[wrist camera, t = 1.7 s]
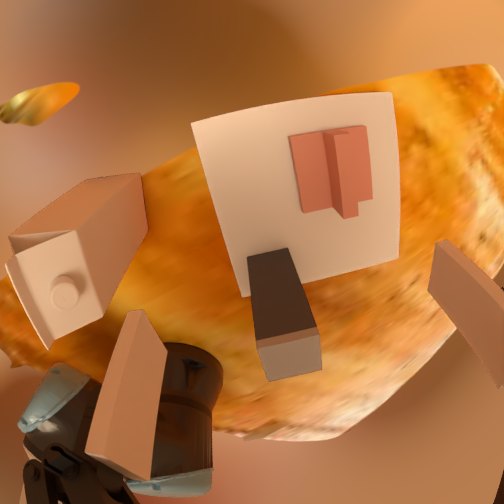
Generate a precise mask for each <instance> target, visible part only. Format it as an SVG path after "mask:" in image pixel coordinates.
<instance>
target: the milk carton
mask: <svg viewBox="0 0 504 504" xmlns="http://www.w3.org/2000/svg"><path fill="white" fill-rule="evenodd" d="M147 232H148V224H147V218H146V211H145V204H144V197H143V189H142V181H141V174H140V173H132V174H124V175H115V176H107V177H100V178H93V179H87V180H85V181H83V182H81V183H80V184H79V185H77V186H75V187H74V188H72V189H71V190H69V191H68V192H66V193H65V194H63V195H62V196H60V197H59V198H58V199H56V200H55V201H53V202H52V203H50V204H49V205H48V206H46V207H45V208H43V209H42V210H41V211H40V212H38V213H37V214H35V215H34V216H33V217H32V218H30V219H29V220H28V221H26V222H25V223H24V224H23V225H21V226H20V227H19V228H18V229H16V230H15V231H14V232H13V233H12V234H11V235H9V236H8V239H9V242H10V246H11V249H12V252H13V256H12V257H11V258H10V259H9V260H8V261H7V262H6V263H5V268H6V270H7V272H8V275H9V277H10V280H11V282H12V284H13V287H14V289H15V291H16V293H17V295H18V298H19V300H20V302H21V304H22V306H23V308H24V310H25V312H26V314H27V316H28V318H29V320H30V321H31V323H32V325H33V327H34V329H35V330H36V332H37V334H38V336H39V337H40V339H41V341H42V343H43V344H44V346H45V347H46V349H47V350H49V349H50V347H51V345H52V344H53V342H54V340H56V339H58V338H60V337H62V336H64V335H66V334H68V333H71V332H73V331H75V330H77V329H79V328H81V327H83V326H85V325H87V324H89V323H91V322H94V321H96V320H98V319H100V318H102V317H103V315H104V314H105V312H106V310H107V307H108V305H109V303H110V301H111V299H112V297H113V295H114V293H115V291H116V289H117V287H118V285H119V283H120V281H121V279H122V277H123V276H124V274H125V272H126V270H127V268H128V266H129V264H130V262H131V261H132V259H133V257H134V255H135V253H136V251H137V250H138V248H139V246H140V244H141V243H142V241H143V239H144V237H145V236H146V234H147Z"/></svg>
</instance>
